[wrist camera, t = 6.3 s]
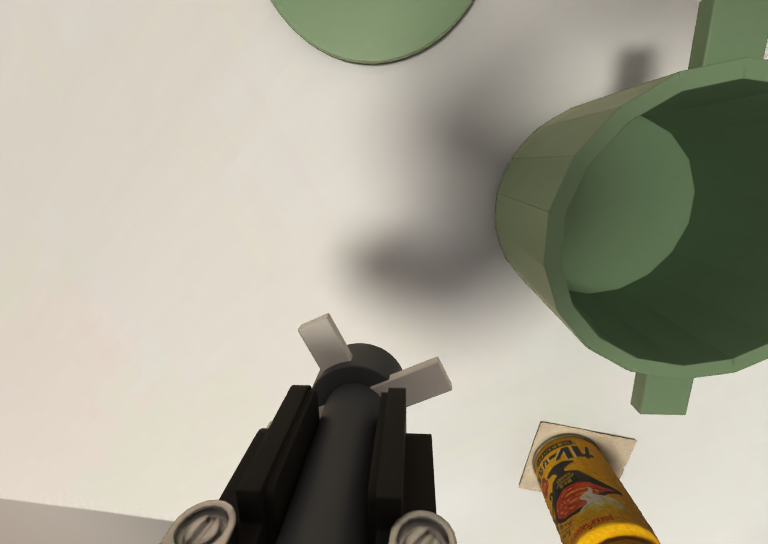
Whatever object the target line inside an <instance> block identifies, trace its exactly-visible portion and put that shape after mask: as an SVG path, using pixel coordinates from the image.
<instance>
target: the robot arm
mask: <svg viewBox="0 0 768 544" xmlns="http://www.w3.org/2000/svg"><path fill="white" fill-rule="evenodd" d="M319 420H320V418H319V405H318V394H317V391H316V390H312V388H311V386H310V385H292V386H291V387H290V389H289V391H288V393H287V395H286V397H285V399H284V401H283V402H282V404H281V406H280V408H279V410H278V412H277V414H276V415H275V417H274V419H273V421H272V423H271V425H270V427H269V428H268V429H267V428H262V429H260V430H259V431H258V432H257V434H256V436H255V437H254V439H253V441H252V443H251V444H250V446H249V448H248V450H247V451H246V453H245V455H244V457H243V458H242V460H241V462H240V464H239V465H238V467H237V469H236V471H235V472H234V474H233V476H232V478H231V479H230V481H229V483H228V485H227V486H226V488H225V490H224V492H223V493H222V495H221V497H220V499H219V500H209V501H205V502H202V503H199V504H196V505H195V506H193V507H191V508H189V509H187V510H186V511H185V512H184V513H182V514H181V515H180V516H179V517H178V518H177V519H176V520H175V522H174V523H173V524H172V525H171V527H170V528H169V530H168V531H167V533H166V534H165V536H164V537H163V539H162V540H161V542H160V544H275V543H276V540H277V537H278V534H279V531H280V529H281V526H282V523H283V520H284V518H285V515H286V512H287V509H288V506H289V504H290V501H291V498H292V495H293V493H294V490H295V487H296V484H297V481H298V479H299V476H300V473H301V470H302V468H303V465H304V462H305V459H306V456H307V454H308V451H309V448H310V445H311V443H312V440H313V437H314V434H315V431H316V429H317V426H318V423H319ZM367 521H368V544H457V541H456V537H455V533H454V531H453V529H452V528H451V526H450V525H449V523H448V522H447V521H446V520H444V519H443V518H442V517H441V516H439V515H437V514H436V501H435V484H434V468H433V451H432V436H431V434H410V433H406V388H388V392H381V398H380V405H379V412H378V419H377V426H376V433H375V440H374V447H373V454H372V462H371V469H370V476H369V483H368V492H367Z"/></svg>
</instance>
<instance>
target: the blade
mask: <svg viewBox="0 0 768 544" xmlns="http://www.w3.org/2000/svg"><path fill="white" fill-rule="evenodd" d="M298 332H299V334H300V335H301V337H302V339H303V340H304V342H305V344H306V345H307V347H308V349H309V351H310V352H311V354H312V356H313V357H314V359H315V361H316V362H317V364H318V366H319V368H320V371H319V373H318V376H317V378H316V380H315V382H314V385H313V387H312V390H316V391H317V394H318V405H319V418H320V420H319V423H318V426H317V429H316V431H315V434H314V437H313V440H312V443H311V445H310V448H309V451H308V454H307V456H306V459H305V462H304V465H303V468H302V470H301V473H300V476H299V479H298V481H297V484H296V487H295V490H294V493H293V495H292V498H291V501H290V504H289V506H288V509H287V512H286V515H285V518H284V520H283V523H282V526H281V529H280V531H279V534H278V537H277V540H276V543H275V544H368V521H367V492H368V483H369V476H370V469H371V462H372V454H373V447H374V440H375V433H376V426H377V419H378V412H379V405H380V398H381V392H388V388H406V407H408V406H411V405H413V404H416V403H419V402H421V401H424V400H427V399H429V398H432V397H435V396H438V395H440V394H443V393H446V392H448V391H451V390H452V385H451V382H450V380H449V378H448V376H447V374H446V372H445V370H444V368H443V366H442V363H441V361H440V359H439V358H438V357H435V358H432V359H430V360H427V361H425V362H422V363H420V364H417V365H414V366H412V367H409V368H407V369H404V370H402V368H401V366H400V365H399V363H398V362H397V360H396V359H395V358H394V357H393V356H392V355H391V354H389V353H388V352H387V351H385V350H383V349H382V348H379V347H377V346H374V345H370V344H364V343H356V344H349V345H346V343H345V341H344V339H343V337H342V336H341V334H340V332H339V330H338V328H337V327H336V325H335V323H334V321H333V320H332V318H331V316H330V314H329V313H327V314H325V315H323V316H320V317H318V318H316V319H314V320H311V321H309V322H307V323H305V324H302V325H301V326H300V327H299V329H298ZM271 423H272V421H271V422H270V423H269V425H268V426H267V429H268V428H269V427H270V425H271Z"/></svg>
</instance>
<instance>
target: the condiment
mask: <svg viewBox="0 0 768 544" xmlns="http://www.w3.org/2000/svg"><path fill="white" fill-rule="evenodd" d="M636 441H637V440H632V439H625V438H622V437H614V436H610V435H605V434H600V433H595V432H591V431H587V430H582V429H576V428H571V427H566V426H562V425H555V424H551V423H541V424H540V427H539V430H538V433H537V435H536V438H535V440H534V443H533V446H532V449H531V452H530V455H529V458H528V461H527V464H526V467H525V471H524V475H523V477H522V480H521V483H520V486H519V488H522V489H528V490H534V491H539V492H542V493H543V495H544V498H545V502H546V503H547V507H548V509H549V510H550V514H551V516H552V518H553V521H554V523H555V525H556V528H557V531H558V533H559V535H560V538H561V542H562V543H563V544H660V542H659V540H658V538H657V537H656V535H655V534H654V532H653V530H652V528H651V527H650V525H649V524H648V523H647V521H646V520H645V518H644V517H643V515H642V513H641V511H640V510H639V509H638V507H637V505H636V504H635V503H634V501H633V500H632V498H631V496H630V495H629V494H628V492H627V491H626V489H625V488H624V486H623V484H622V483H621V482H620V480H619V479H620V477H621V475H622V473H623V470H624V466H625V465H626V464H627V461H628V460H629V457H630V454H631V452H632V450H633V448H634V446H635V444H636Z"/></svg>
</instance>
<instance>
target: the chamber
mask: <svg viewBox="0 0 768 544" xmlns="http://www.w3.org/2000/svg"><path fill="white" fill-rule="evenodd" d="M767 39H768V0H702V1H700V3H699V9H698V14H697V20H696V26H695V32H694V38H693V44H692V49H691V55H690V61H689V67H688V70H684V71H680V72H677V73H674V74H671V75H668V76H665V77H662V78H659V79H656V80H653V81H650V82H647V83H644V84H641V85H638V86H635V87H632V88H629V89H626V90H623V91H620V92H617V93H614V94H611V95H608V96H605V97H602V98H599V99H596V100H593V101H591V102H588V103H585V104H582V105H579V106H576V107H573V108H571V109H569V110H568V111H566V112H564V113H563V114H561V115H559V116H557V117H555V118H553V119H552V120H550V121H549V122H547V123H546V124H544V125H543V126H541V127H539V129H537V130H536V131H535V132H534V133H533V134H532V135H531V136H530V137H529V138H528V139H527V140H526V141H525V142H524V143H523V145H522V146H521V147H520V148H519V149H518V151H517V152H516V154H515V155H514V156H513V158H512V159H511V161H510V163H509V165H508V167H507V169H506V170H505V173H504V175H503V178H502V180H501V183H500V186H499V190H498V194H497V199H496V208H495V223H496V230H497V235H498V239H499V242H500V246H501V248H502V250H503V252H504V255H505V258H506V260H507V261H508V262H509V263H510V265H511V266H512V267H513V268H514V270H515V271H516V272H517V273H518V274H519V276H520V277H521V278H522V279H523V280H524V282H525V283H526V284H527V285H528V286H529V287H530V288H531V289H532V290H533V291H534V292H535V293H536V294H537V295H538V297H539V298H540V299H541V300H542V301H543V302H544V303H545V304H546V305H547V306H548V307H549V308H550V309H551V310H552V311H553V312H554V313H555V315H556V316H557V317H558V318H559V319H560V320H561V321H562V322H563V323H564V324H565V325H566V326H567V327H568V328H569V329H570V330H571V331H572V333H573V334H574V335H575V336H576V337H577V338H578V339H579V340H580V341H581V342H582V343H583V344H584V345H585V346H586V347H587V348H588V349H590V350H592V351H593V352H595V353H597V354H599V355H601V356H603V357H604V358H606V359H608V360H610V361H612V362H614V363H615V364H617V365H619V366H621V367H623V368H624V369H626V370H629V371H631V372H636V375H635V381H634V386H633V392H632V398H631V405H632V406H633V407H634V408H635V409H636V410H637V411H638V412H639V413H640V414H663V415H685V414H686V410H687V406H688V401H689V397H690V392H691V387H692V383H693V378H696V377H704V376H712V375H719V374H727V373H734V372H737V371H739V370H742V369H744V368H747V367H749V366H751V365H754V364H756V363H758V362H761V361H763V360H766V359H768V60H764V59H763V57H764V52H765V48H766V43H767Z"/></svg>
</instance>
